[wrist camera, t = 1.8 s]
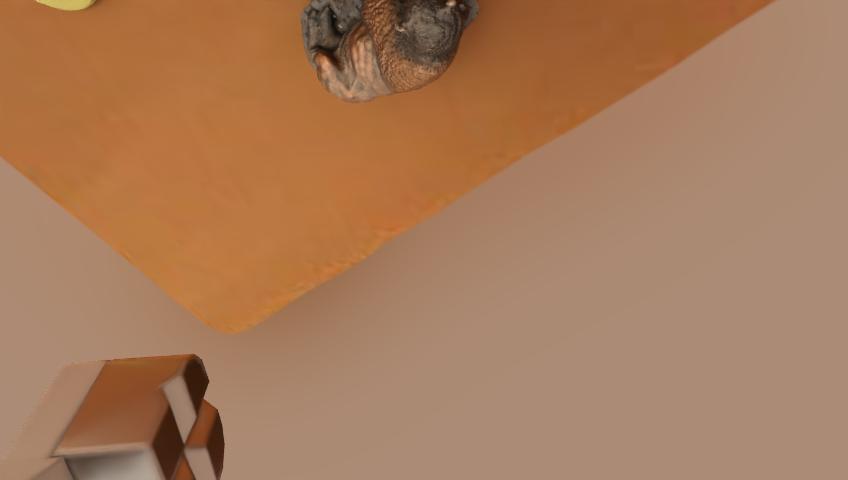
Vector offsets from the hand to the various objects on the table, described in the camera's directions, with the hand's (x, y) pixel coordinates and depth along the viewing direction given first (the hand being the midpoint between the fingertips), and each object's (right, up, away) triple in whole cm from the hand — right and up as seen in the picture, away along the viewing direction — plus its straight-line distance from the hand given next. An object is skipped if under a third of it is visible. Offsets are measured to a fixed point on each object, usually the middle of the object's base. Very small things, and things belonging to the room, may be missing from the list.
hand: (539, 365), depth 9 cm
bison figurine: (-3, +16, +36) cm, 40 cm away
